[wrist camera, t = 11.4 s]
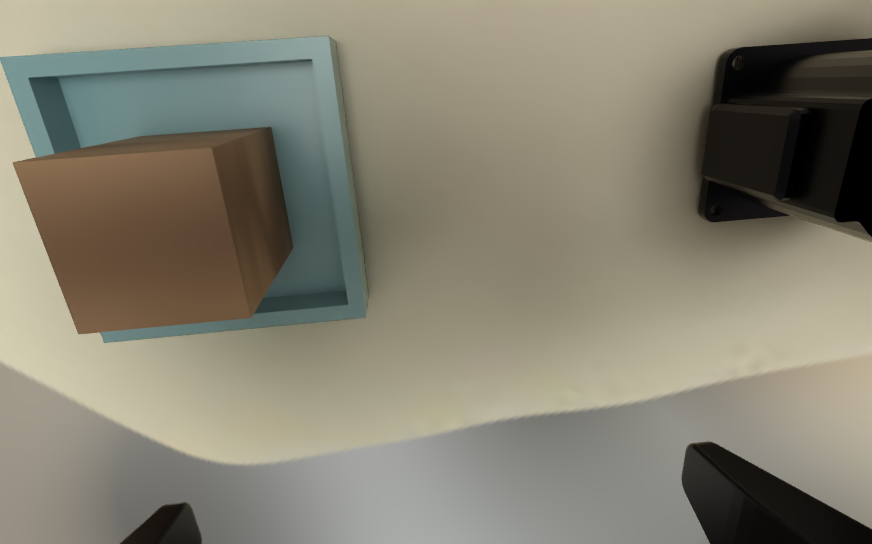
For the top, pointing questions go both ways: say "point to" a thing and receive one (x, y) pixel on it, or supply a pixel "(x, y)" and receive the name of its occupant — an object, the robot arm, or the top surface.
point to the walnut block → (162, 227)
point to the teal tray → (212, 111)
